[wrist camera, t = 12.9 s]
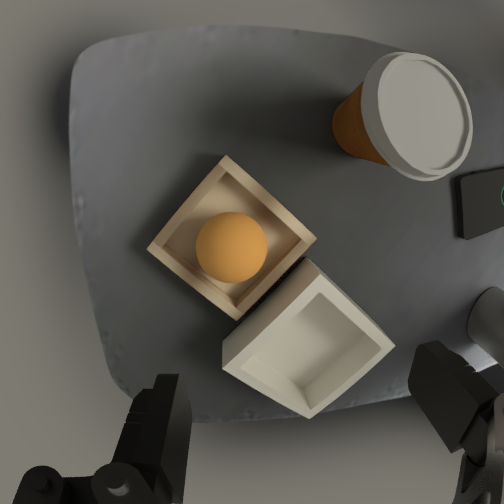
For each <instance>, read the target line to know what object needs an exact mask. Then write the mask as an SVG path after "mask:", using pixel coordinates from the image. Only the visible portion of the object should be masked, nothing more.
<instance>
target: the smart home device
mask: <svg viewBox="0 0 504 504" xmlns="http://www.w3.org/2000/svg"><path fill="white" fill-rule="evenodd" d="M455 186H456V197H457V210H458V229H459V237H460V238H463V239H465V240H469V239H472V238H475V237H477V236H480V235H482V234H485V233H488V232H490V231H493V230H495V229H498V228H500V227H503V226H504V167H501V168H496V169H491V170H481V171H476V172H472V173H470V174H465V175H460V176H458V177H457V178H456V179H455Z"/></svg>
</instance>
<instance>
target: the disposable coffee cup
mask: <svg viewBox="0 0 504 504" xmlns="http://www.w3.org/2000/svg"><path fill="white" fill-rule="evenodd" d="M332 130H333V134H334V137H335V139H336V141H337V143H338V144H339V145H340V147H341V148H342V149H343V150H344V151H346V152H347V153H349V154H350V155H352V156H355V157H359V158H362V159H366V160H369V161H373V162H376V163H380V164H383V165H387V166H390V167H393V168H394V169H395V170H396V171H398V172H399V173H401V174H403V175H404V176H406V177H409V178H412V179H415V180H420V181H433V180H436V179H439V178H441V177H444V176H445V175H446V174H448V173H450V172H452V171H453V170H455V169H456V168H457V167H458V166H459V165H460V164H461V163H462V162H463V160H464V159H465V158H466V156H467V153H468V151H469V149H470V145H471V140H472V132H473V125H472V116H471V111H470V106H469V104H468V101H467V98H466V96H465V93H464V92H463V90H462V88H461V86H460V84H459V83H458V81H457V80H456V79H455V77H454V76H453V75H452V74H451V73H450V72H449V71H448V70H447V69H446V68H445V67H444V66H443V65H442V64H440V63H439V62H437V61H435V60H434V59H432V58H430V57H427V56H424V55H421V54H415V53H408V52H395V53H391V54H388V55H385V56H383V57H382V58H380V59H379V60H378V61H376V62H375V63H374V65H373V66H372V67H371V68H370V69H369V71H368V73H367V75H366V77H365V80H364V81H363V82H362V83H361V84H360V85H359V86H358V87H357V88H356V89H355V90H354V91H353V92H352V93H351V94H350V95H349V96H348V97H347V98H346V99H345V100H344V101H343V102H342V103H341V104H340V105H339V106H338V107H337V109H336V110H335V112H334V115H333V118H332Z"/></svg>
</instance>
